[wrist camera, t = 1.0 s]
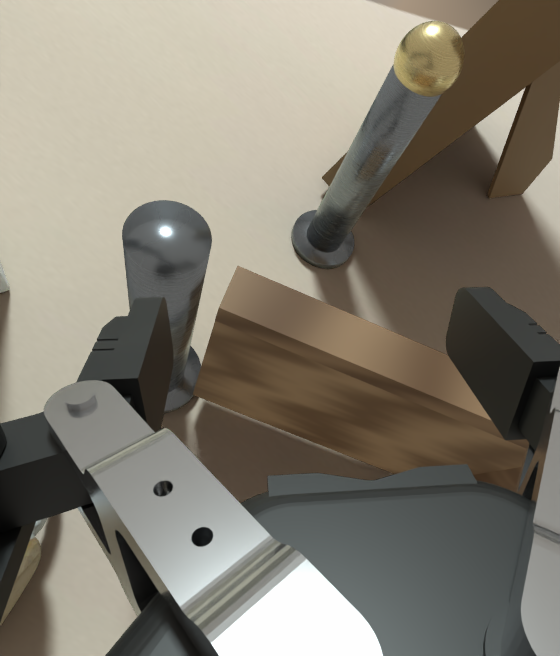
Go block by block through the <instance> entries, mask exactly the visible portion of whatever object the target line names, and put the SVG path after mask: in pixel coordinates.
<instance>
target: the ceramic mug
mask: <svg viewBox="0 0 560 656" xmlns="http://www.w3.org/2000/svg"><path fill="white" fill-rule="evenodd" d="M46 520H47V518H45V519H42V520H39V521H36V524H35V527H34V529H33V532H32V535H31V538H30V541H29V543H28V546H27V549H26V552H25V555H24V558H23V560H22V563H21V566H20V569H19V572H18V574H17V577H16V580H15V583H14V586H13V588H12V591H11V594H10V597H9V600H8V602H7V605H6V608H5V611H4V614H3V616H2V619H1V622H0V626H1V625H2V623H3V622H4V620H5V619H6V617H7V616H8V614H9V613H10V611H11V610H12V608H13V606H14V605H15V603H16V602H17V600H18V599H19V597H20V595H21V594H22V592H23V591H24V589H25V587H26V586H27V584H28V582H29V581H30V579H31V577H32V576H33V574H34V572H35V570H36V568H37V566H38V564H39V561H40V558H41V546H40V543H39V541H38V540H37V539H36V538H35V536H36V534H37V533H38V532H39V531H40V530H41V529H42V527H43V525H44V524H45V522H46Z"/></svg>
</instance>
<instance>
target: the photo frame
mask: <svg viewBox="0 0 560 656" xmlns="http://www.w3.org/2000/svg"><path fill="white" fill-rule="evenodd" d="M461 39H462V42H463V45H464V63H463V67H462V70H461V72H460V75H459V76H458V78H457V80H456V81H455V82H454V84H453V85H452V86H451V87H450V88H449V89H448V90H447V91H445V92H444V93H443V94H442V95H441V97H440V98H439V100H438V101H437V103H436V104H435V106H434V107H433V109H432V110H431V111H430V113H429V114H428V116H427V117H426V119H425V120H424V122H423V123H422V125H421V126H420V128H419V129H418V131H417V132H416V134H415V135H414V137H413V138H412V140H411V141H410V143H409V144H408V146H407V147H406V149H405V150H404V152H403V153H402V155H401V156H400V158H399V159H398V161H397V162H396V164H395V165H394V167H393V168H392V170H391V171H390V173H389V174H388V176H387V177H386V179H385V180H384V182H383V183H382V185H381V186H380V188H379V189H378V191H377V192H376V194H375V195H374V197H373V198H372V200H371V201H370V203H369V204H368V206H369V205H371V204H372V203H373V202H375V201H376V200H377V199H379V198H380V197H381V196H383V195H384V194H385V193H387V192H388V191H389V190H391V189H392V188H393V187H394V186H396V185H397V184H398V183H400V182H401V181H402V180H404V179H405V178H406V177H408V176H409V175H410V174H412V173H413V172H414V171H416V170H417V169H418V168H420V167H421V166H422V165H424V164H425V163H426V162H427V161H429V160H430V159H431V158H433V157H434V156H435V155H437V154H438V153H439V152H441V151H442V150H443V149H445V148H446V147H447V146H449V145H450V144H451V143H453V142H454V141H455V140H456V139H458V138H459V137H460V136H462V135H463V134H464V133H466V132H467V131H468V130H470V129H471V128H472V127H474V126H475V125H476V124H478V123H479V122H480V121H482V120H483V119H484V118H486V117H487V116H488V115H489V114H491V113H492V112H493V111H495V110H496V109H497V108H499V107H500V106H501V105H503V104H504V103H505V102H507V101H508V100H509V99H511V98H512V97H513V96H515V95H516V94H517V93H518V92H520V91H521V90H522V89H524V88H525V87H526V88H525V91H524V93H523V96H522V99H521V102H520V105H519V107H518V110H517V113H516V116H515V119H514V121H513V124H512V127H511V130H510V132H509V135H508V138H507V141H506V144H505V146H504V149H503V152H502V155H501V157H500V160H499V163H498V166H497V169H496V171H495V174H494V177H493V180H492V182H491V185H490V188H489V191H488V194H487V196H488V198H496V197H504V196H511V195H518V194H523V193H524V191H525V190H526V189H527V188H528V187H529V186H530V184H531V183H532V182H533V181H534V180H535V178H536V177H537V176H538V175H539V174H540V172H541V171H542V170H543V169H544V168H545V167H546V165H547V164H548V163H549V162H550V161H551V159H552V156H553V149H554V141H555V133H556V125H557V118H558V110H559V102H560V0H499V1H498V2H497V3H496V4H495V5H494V6H493V7H492V8H491V9H490V10H489V11H488V12H487V13H486V14H485V15H484V16H483V17H482V18H481V19H480V20H479V21H478V22H477V23H476V24H475V25H474V26H473V27H472V28H471V29H470V30H469V31H468V32H467V33H466V34H465V35H464V36H463V37H462V38H461ZM346 154H347V153H346ZM346 154H345V155H344V156H343V157H342V158H341V159H340V160H339V161H338V162H337V163H336V164H335V165H334V166H333V167H332V168H331V169H330V170H329V171H328V172H327V173H326V174H325V175H324V176H323V177H322V179H323V180H324V181H325V182H326V183H327V184H328V186H329V187H330V185H331V183H332V181H333V179H334V177H335V175H336V173H337V171H338V169H339V168H340V166H341V164H342V162H343V160H344V158H345V156H346ZM368 206H367V207H368ZM367 207H366V208H367Z"/></svg>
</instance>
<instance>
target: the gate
mask: <svg viewBox="0 0 560 656" xmlns="http://www.w3.org/2000/svg"><path fill="white" fill-rule="evenodd" d="M193 395H195V396H197V397H200V398H203V399H205V400H208V401H210V402H213V403H215V404H218V405H220V406H223V407H225V408H228V409H230V410H233V411H236V412H238V413H241V414H243V415H246V416H248V417H251V418H253V419H256V420H258V421H261V422H263V423H266V424H269V425H271V426H274V427H276V428H279V429H281V430H284V431H286V432H289V433H291V434H294V435H296V436H299V437H302V438H304V439H307V440H309V441H312V442H314V443H317V444H319V445H322V446H324V447H327V448H329V449H332V450H335V451H337V452H340V453H342V454H345V455H347V456H350V457H352V458H355V459H357V460H360V461H362V462H365V463H368V464H370V465H373V466H375V467H378V468H380V469H383V470H385V471H388V472H390V473H393V474H398V473H401V472H404V471H408V470H411V469H414V468H418V467H427V466H444V465H461V464H467V465H468V466H469V468H470V470H471V472H472V474H473V476H474V477H475V479H476V480H478V481H483V482H487V483H491V484H495V485H498V486H500V487H503V488H506V489H509V490H511V491H513V492H515V490H516V486H517V482H518V478H519V474H520V470H521V466H522V462H523V458H524V454H525V452H526V449H527V447H528V444H529V442H528V441H527V439H522V440H504V438H503V437H502V435H501V434H500V432H499V431H498V429H497V428H496V426H495V425H494V423H493V422H492V420H491V419H490V417H489V416H488V414H487V413H486V411H485V410H484V408H483V407H482V405H481V404H480V402H479V401H478V399H477V398H476V396H475V395H474V393H473V392H472V390H471V389H470V387H469V386H468V384H467V383H466V381H465V380H464V379H463V377H462V376H461V374H460V373H459V371H458V370H457V368H456V367H455V365H454V364H453V362H452V361H451V359H450V358H449V356H448V355H446V354H444V353H442V352H439V351H437V350H435V349H432V348H430V347H428V346H425V345H423V344H421V343H418V342H416V341H414V340H411V339H409V338H406V337H404V336H402V335H399V334H397V333H395V332H392V331H390V330H388V329H385V328H383V327H381V326H378V325H376V324H374V323H371V322H369V321H366V320H364V319H362V318H359V317H357V316H355V315H352V314H350V313H348V312H345V311H343V310H341V309H338V308H336V307H334V306H331V305H329V304H327V303H324V302H322V301H319V300H317V299H315V298H312V297H310V296H308V295H305V294H303V293H301V292H298V291H296V290H294V289H291V288H289V287H287V286H284V285H282V284H279V283H277V282H275V281H272V280H270V279H268V278H265V277H263V276H261V275H258V274H256V273H254V272H251V271H249V270H247V269H244V268H242V267H240V266H237V268H236V271H235V273H234V275H233V277H232V280H231V282H230V284H229V286H228V289H227V291H226V293H225V295H224V298H223V300H222V302H221V304H220V307H219V309H218V313H217V316H216V319H215V323H214V327H213V330H212V333H211V336H210V340H209V343H208V346H207V349H206V353H205V356H204V359H203V362H202V366H201V369H200V372H199V375H198V379H197V382H196V385H195V388H194V392H193Z"/></svg>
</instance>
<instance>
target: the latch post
mask: <svg viewBox="0 0 560 656" xmlns="http://www.w3.org/2000/svg"><path fill="white" fill-rule="evenodd" d="M463 63H464V45H463V42H462V39H461V37H460V35H459V34H458V32H457V31H456V30H455V29H454V28H453V27H452V26H450V25H449V24H446V23H444V22H440V21H429V22H425V23H422V24H420V25H418V26H416V27H414V28H413V29H412V30H410V31H409V32H408V33H407V34H406V35H405V37H404V38H403V39H402V41H401V42H400V44H399V46H398V48H397V51H396V54H395V58H394V64H393V66H392V68H391V70H390V72H389V74H388V76H387V77H386V79H385V81H384V83H383V85H382V87H381V89H380V91H379V93H378V95H377V97H376V99H375V100H374V102H373V104H372V106H371V108H370V110H369V112H368V114H367V116H366V118H365V120H364V122H363V123H362V125H361V127H360V129H359V131H358V133H357V135H356V137H355V139H354V141H353V143H352V145H351V146H350V148H349V150H348V152H347V154H346V156H345V158H344V160H343V162H342V164H341V166H340V168H339V169H338V171H337V173H336V175H335V177H334V179H333V181H332V183H331V185H330V187H329V189H328V191H327V192H326V194H325V196H324V198H323V200H322V202H321V204H320V206H319V208H318V210H313V211H309V212H306V213H304V214H302V215H301V216H300V217H299V218H298V219H297V221H296V222H295V225H294V227H293V229H292V234H291V238H292V243H293V246H294V248H295V250H296V252H297V253H298V254H299V256H300V257H301V258H302V259H304V260H305V261H306V262H308V263H309V264H311V265H313V266H316V267H319V268H327V269H328V268H335V267H338V266H340V265H342V264H343V263H345V262H346V261H347V259H348V258H349V257H350V255H351V254H352V252H353V249H354V237H353V234H352V232H351V229H352V228H353V226H354V225H355V223H356V222H357V220H358V219H359V217H360V216H361V214H362V213H363V211H364V210H365V208H366V207H367V206H368V204H369V203H370V201H371V200H372V198H373V197H374V195H375V194H376V192H377V191H378V189H379V188H380V186H381V185H382V183H383V182H384V180H385V179H386V177H387V176H388V174H389V173H390V171H391V170H392V168H393V167H394V165H395V164H396V162H397V161H398V159H399V158H400V156H401V155H402V153H403V152H404V150H405V149H406V147H407V146H408V144H409V143H410V141H411V140H412V138H413V137H414V135H415V134H416V132H417V131H418V129H419V128H420V126H421V125H422V123H423V122H424V120H425V119H426V117H427V116H428V114H429V113H430V111H431V110H432V109H433V107H434V106H435V104H436V103H437V101H438V100H439V98H440V97H441V95H442V94H443V93H444V92H445V91H447V90H448V89H449V88H450V87H451V86H452V85H453V84H454V82H455V81H456V80H457V78H458V76H459V75H460V72H461V70H462V67H463Z"/></svg>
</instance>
